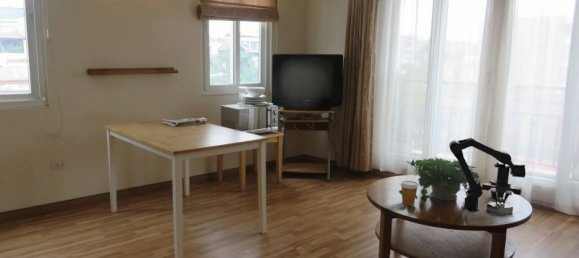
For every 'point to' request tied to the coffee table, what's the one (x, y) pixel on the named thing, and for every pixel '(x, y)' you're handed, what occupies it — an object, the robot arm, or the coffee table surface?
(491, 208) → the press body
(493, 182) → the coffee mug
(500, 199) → the plunger
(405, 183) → the beer cup
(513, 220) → the coffee table surface
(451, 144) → the robot arm
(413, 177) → the coffee table surface
